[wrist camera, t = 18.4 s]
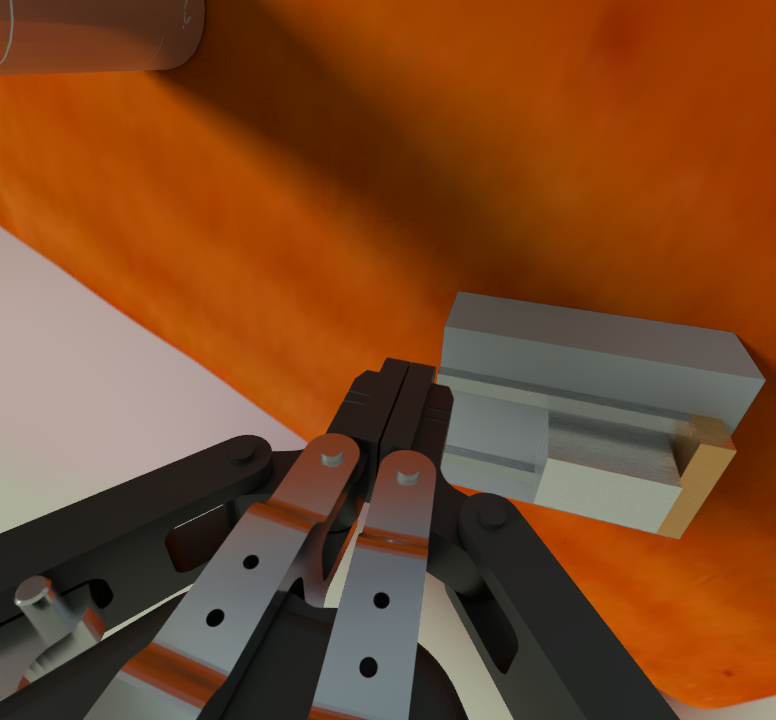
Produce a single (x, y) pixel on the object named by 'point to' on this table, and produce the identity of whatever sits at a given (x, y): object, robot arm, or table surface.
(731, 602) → the table surface
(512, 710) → the robot arm
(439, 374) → the channel stand
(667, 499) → the aluminium block
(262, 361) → the table surface
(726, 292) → the table surface
